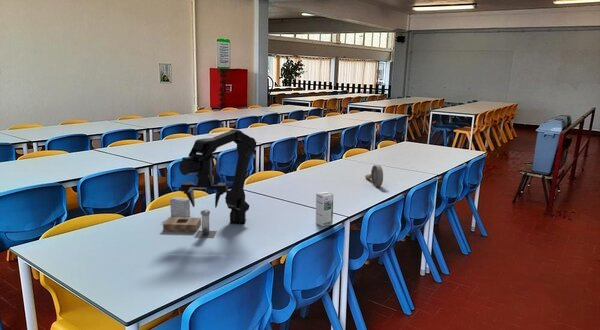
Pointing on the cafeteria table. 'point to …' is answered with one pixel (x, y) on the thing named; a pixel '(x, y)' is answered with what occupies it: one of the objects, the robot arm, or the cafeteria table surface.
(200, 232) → the mat
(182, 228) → the socket block
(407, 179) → the cafeteria table surface
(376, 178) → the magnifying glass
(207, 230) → the pin
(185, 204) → the medicine box
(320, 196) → the syrup box
